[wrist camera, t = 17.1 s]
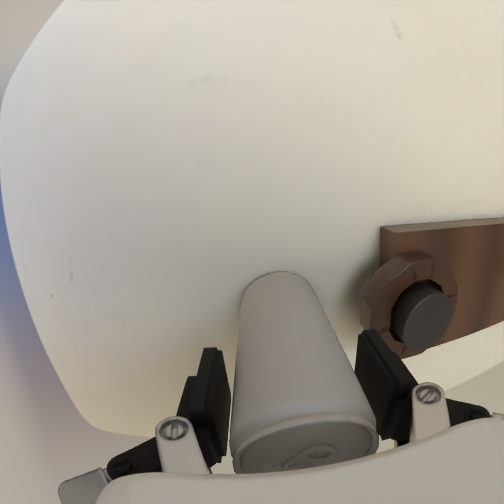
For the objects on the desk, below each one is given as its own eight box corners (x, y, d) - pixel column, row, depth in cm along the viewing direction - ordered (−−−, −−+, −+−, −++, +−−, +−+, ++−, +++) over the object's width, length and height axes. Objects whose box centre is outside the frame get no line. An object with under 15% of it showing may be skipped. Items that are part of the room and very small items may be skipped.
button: (387, 341, 15) (398, 357, 13) (393, 287, 14) (407, 299, 12) (433, 329, 15) (446, 343, 13) (441, 278, 14) (458, 288, 12)
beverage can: (226, 310, 18) (198, 471, 7) (271, 253, 17) (303, 392, 6) (283, 345, 19) (309, 500, 7) (328, 294, 18) (410, 435, 6)
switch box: (346, 349, 19) (362, 383, 15) (349, 228, 17) (374, 243, 13) (513, 302, 19) (536, 317, 15) (525, 215, 16) (553, 224, 12)
